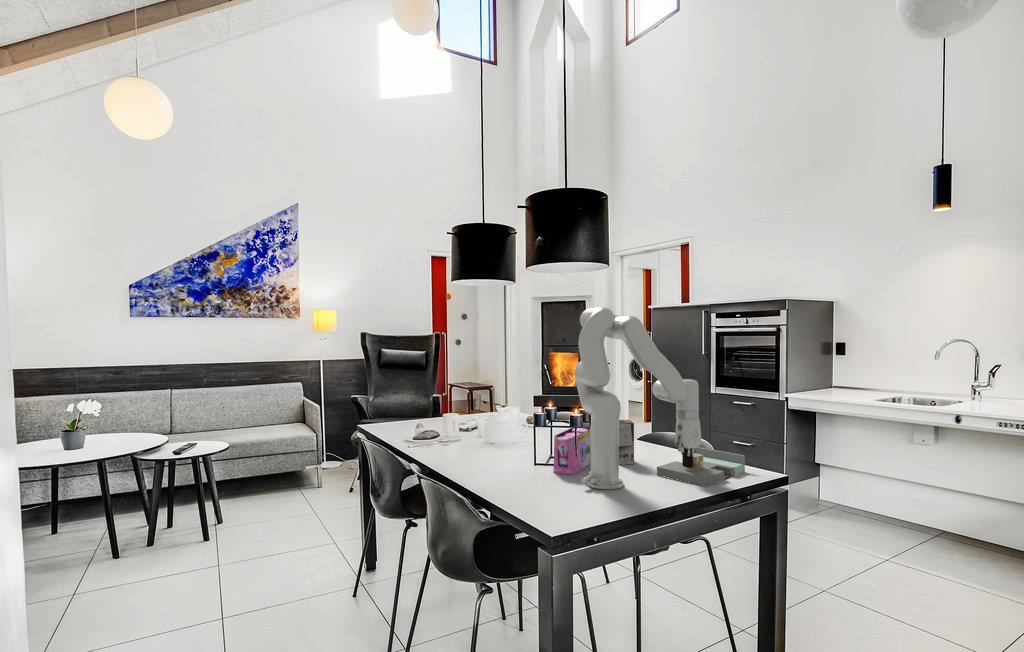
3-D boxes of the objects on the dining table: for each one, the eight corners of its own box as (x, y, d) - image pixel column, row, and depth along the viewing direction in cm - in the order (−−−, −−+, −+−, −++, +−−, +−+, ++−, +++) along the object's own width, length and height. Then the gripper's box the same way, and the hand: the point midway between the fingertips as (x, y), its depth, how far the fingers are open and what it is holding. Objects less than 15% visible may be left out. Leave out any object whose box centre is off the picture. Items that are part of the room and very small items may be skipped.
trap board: (706, 486, 177) (706, 468, 177) (656, 475, 191) (656, 458, 191) (744, 471, 196) (744, 455, 196) (696, 462, 210) (696, 446, 210)
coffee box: (634, 465, 206) (634, 423, 206) (618, 464, 206) (617, 423, 206) (630, 459, 215) (629, 419, 215) (614, 459, 215) (613, 419, 215)
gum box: (571, 476, 191) (571, 438, 191) (551, 473, 194) (551, 436, 194) (593, 461, 212) (593, 427, 212) (574, 459, 215) (574, 425, 216)
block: (696, 469, 187) (696, 457, 187) (685, 467, 190) (685, 454, 190) (703, 467, 190) (703, 455, 190) (692, 465, 193) (691, 452, 193)
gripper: (685, 418, 179) (686, 472, 179) (708, 413, 189) (708, 465, 189) (666, 415, 185) (666, 468, 185) (689, 411, 195) (689, 461, 195)
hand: (687, 466), depth 187 cm, fingers closed
